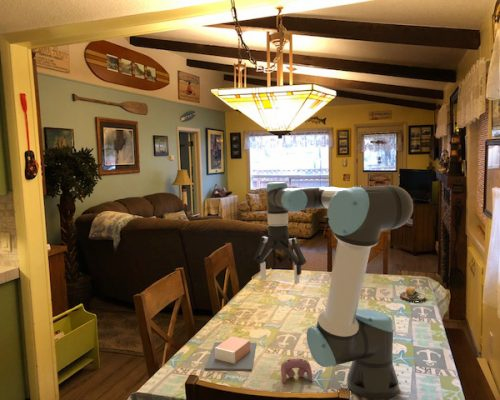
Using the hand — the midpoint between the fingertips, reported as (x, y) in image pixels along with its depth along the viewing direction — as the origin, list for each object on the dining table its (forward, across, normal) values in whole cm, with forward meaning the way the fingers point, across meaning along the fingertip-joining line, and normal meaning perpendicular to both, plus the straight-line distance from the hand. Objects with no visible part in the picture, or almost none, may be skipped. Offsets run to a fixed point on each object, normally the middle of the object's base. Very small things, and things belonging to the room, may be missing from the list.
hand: (279, 281), depth 154 cm
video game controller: (+26, -13, +17) cm, 34 cm away
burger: (+25, -35, -77) cm, 89 cm away
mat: (+25, +13, +14) cm, 32 cm away
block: (+23, +13, +8) cm, 27 cm away
